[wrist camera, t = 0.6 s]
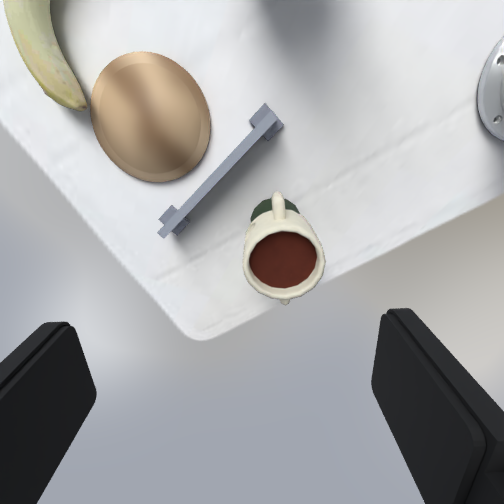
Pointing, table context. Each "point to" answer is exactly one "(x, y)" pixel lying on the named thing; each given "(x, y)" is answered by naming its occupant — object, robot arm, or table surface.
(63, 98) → the fruit
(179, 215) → the grey cabinet handle
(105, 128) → the coaster
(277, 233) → the character mug
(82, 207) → the table surface
